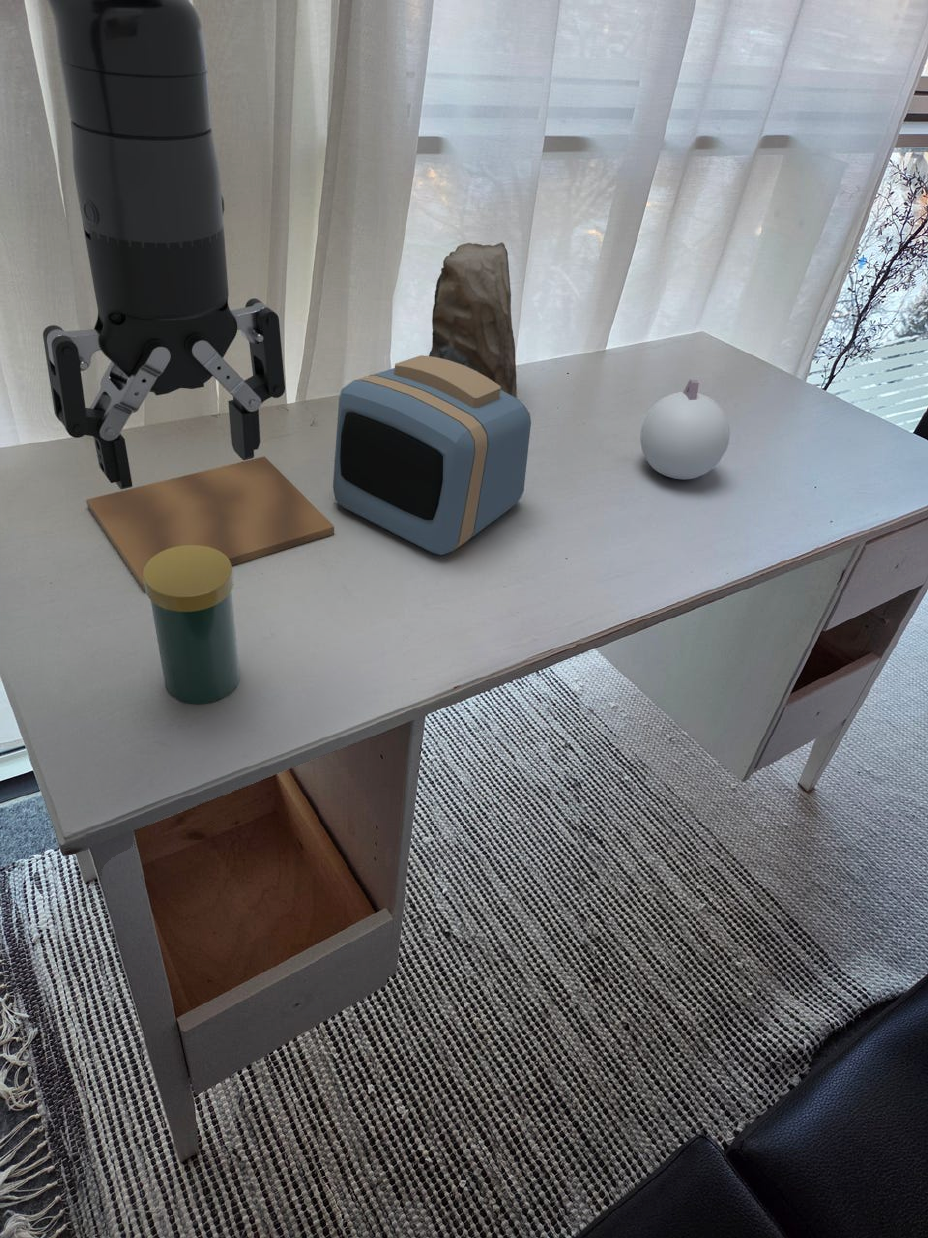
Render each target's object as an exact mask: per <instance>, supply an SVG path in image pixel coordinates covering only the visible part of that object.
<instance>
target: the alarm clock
mask: <svg viewBox="0 0 928 1238" xmlns="http://www.w3.org/2000/svg"><path fill="white" fill-rule="evenodd" d="M336 423H337V424H336V437H335V439H336V440H335V450H334V451H335V452H334V466H333V480H332V481H333V482H332V488H333V495H334V500H335V501H336V502H337V503H338V504H340V506H342V508H344V509H346V510H348V511H349V512H352V513H354V514H355V515H357V516H359V517H361V518H363V519H365V520H367V521H369V522H370V523H373V524H375V525H377V526H379V527H381V528H383V529H385V530H386V531H388V532H390V533H393V534H394V535H396V536H398V537H400V538H403V539H404V540H406V541H408V542H410V543H412V544H414V545H417V546H418V547H420V548H422V549H424V550H426V551H428V552H430V553H432V554H435V555H440V556H444V555H446V554H449V553H452V552H453V551H456V550H457V549H458V548H460V547H461V546H462V545H464V544H465V543H466V542H468V541H469V540H470V539H472V538H473V537H474V536H476V535H478V533H480V532H482V531H483V530H484V529H485V528H487V527H488V526H489V525H491V523H493V522H495V521H496V520H497V519H498V518H500V517H501V516H502V515H504V514H506V512H508V511H509V510H510V509H512V508H513V507H514V506H515V505H517V504H518V503H519V502H520V500H521V498H522V496H523V494H524V491H525V482H526V473H527V463H528V455H529V444H530V437H531V436H530V435H531V425H532V419H531V414H530V412H529V410H528V409H527V407H526V405H525V404H524V403H523V402H522V401H521V400H520V399H519V398H518V397H517V398H515V397H513V396H511V395H509V394H508V393H506V392H504V391H502V390H501V386H499V385H498V384H496V383H495V382H493V381H492V380H490V379H489V378H487V377H486V376H484V375H482V374H480V373H479V372H477V371H475V370H473V369H471V368H468V367H466V366H464V365H462V364H459V363H456V362H453V361H450V360H446V359H442V358H437V357H432V356H429V355H424V354H421V355H417V356H414V357H411V358H408V359H405V360H401V361H399V362H397V363H395V364H394V367H393V368H389V369H386V370H383V371H380V372H376V373H374V374H370V375H366V376H363V377H360V378H357V379H354V380H352V381H351V382H349V383H348V384H347V385H345V386H344V387H342V389H341V391H340V394H339V396H338V410H337V422H336Z"/></svg>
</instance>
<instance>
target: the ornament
mask: <svg viewBox="0 0 928 1238" xmlns="http://www.w3.org/2000/svg"><path fill="white" fill-rule="evenodd" d="M699 385H700V382H699V381H698V379H689V380H688V382H687V384H686V386H685V387H684V390H683V391H679V392H675V393H670V394H668V395H666V396H664V397H662V398H661V399H660V400H658V401H657V402H656V403H655V404H654V405H653V406H652V407H651V408H650V409H649V411H648V412H647V413H646V415H645V417H644V420H643V422H642V425H641V429H640V437H639V439H640V447H641V451H642V454H643V456H644V458H645V460H646V462H647V463H648V464H649V465H650V466H651V468H652V469H654V470H655V471H656V472H658V474H661V475H663V476H665V477H667V478H671V479H675V480H691V479H696V478H699V477H702V476H703V475H706V474H707V473H709V472H711V470H713V469H714V468H715V467H716V466H717V465H718V464H719V463H720V462H721V460H722V459H723V457H724V456H725V453H726V451H727V449H728V447H729V442H730V435H731V434H730V433H731V432H730V430H731V429H730V423H729V420H728V417H727V415H726V413H725V411H724V410H723V408H722V407H721V406H720V404H718V403H717V402H716V401H715V400H714V399H712V398H711V397H709V396H707V395H705V394H702V393H699V392H698V390H699Z"/></svg>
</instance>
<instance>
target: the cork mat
mask: <svg viewBox="0 0 928 1238" xmlns="http://www.w3.org/2000/svg"><path fill="white" fill-rule="evenodd" d="M85 502H86V507H87V508H88V511H90V513H91V515H92V516H93V518H94V519H95V520H96V523H98V525H99V526H100V528H101V530H102V531H103V532H104V534H105V536H106V537H107V538H108V539H109V541H110V543H111V544H112V546H113V548H114V549H115V550H116V551H117V553H118V555H119V556H120V557H121V559H122V561H123V562H124V563H125V564H126V567H127V568H128V569H129V571H130V572H131V574H132V575H133V577H134V578H135V579H136V581H137V582H138V584H139V586H140V587H141V589H142V590H143V592H144V593H146V590H145V585H144V579H143V570H144V567H145V565H146V564H147V562H148V561H149V560H150V559H151V558H152V557H153V556H155V555H156V554H158V553H160V552H162V551H164V550H167V549H170V548H173V547H177V546H184V545H200V546H206V547H210V548H214V549H216V550H218V551H220V552H222V553H223V554H224V555H226V556H227V557H228V559H229V560H230V562H231V564H232V567H233V566H235V565H239V564H242V563H245V562H249V561H252V560H255V559H258V558H261V557H265V556H269V555H272V554H275V553H279V552H281V551H284V550H287V549H291V548H294V547H298V546H301V545H304V544H307V543H311V542H314V541H317V540H321V539H323V538H326V537H330V536H333V535H335V526H334V525H333V524H332V523H331V522H330V521H329V520H328V519H327V518H326V516H324V515H323V513H321V512H320V511H319V510H318V508H316V506H315V505H314V504H313V503H311V501H309V499H307V497H306V496H305V495H304V494H303V493H302V492H301V491H300V490H298V489H297V487H296V486H294V484H293V483H291V482H290V480H289V479H288V478H287V477H286V476H285V475H284V474H283V473H281V471H280V470H279V469H278V468H277V467H276V466H275V465H274V464H273V463H272V462H271V461H270V460H269V459H268V458H267V457H266V456H261V457H256V458H252V459H248V460H242V461H240V462H236V463H232V464H228V465H227V464H226V465H223V466H219V467H215V468H211V469H207V470H203V471H198V472H194V473H190V474H186V475H182V476H178V477H174V478H170V479H166V480H162V481H157V482H154V483H149V484H145V485H141V486H137V487H131V488H127V489H123V490H121V491H116V492H113V493H108V494H104V495H100V496H96V497H95V496H94V497H91V498H88V499H87V498H86V499H85Z"/></svg>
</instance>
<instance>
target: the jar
mask: <svg viewBox="0 0 928 1238" xmlns="http://www.w3.org/2000/svg"><path fill="white" fill-rule="evenodd" d="M233 572H234V571H233V566H232V564H231V562H230V560H229V559H228V557H227V556H226V555H224V554H223V553H222V552H220V551H218V550H216V549H214V548H210V547H206V546H200V545H184V546H177V547H173V548H170V549H167V550H164V551H162V552H160V553H158V554H156V555H155V556H153V557H152V558H151V559H150V560H149V561H148V562H147V564H146V565H145V567H144V570H143V579H144V585H145V590H146V592H145V593H146V596H147V597H148V599H149V601H150V608H151V612H152V619H153V624H154V629H155V636H156V642H157V646H158V651H159V657H160V663H161V669H162V674H163V679H164V685H165V689H166V690H167V692H168V693H169V695H170V696H172V697H173V698H175V699H176V700H177V701H180V702H182V703H186V704H190V705H205V704H211V703H215V702H217V701H220V700H223V699H224V698H226V697H227V696H229V695H230V694H231V693H232V692H233V691H234V690H235V689H236V688H237V686H238V684H239V683H240V675H241V674H240V665H239V664H240V663H239V654H238V642H237V633H236V631H237V630H236V623H235V621H236V620H235V611H234V601H233V600H234V599H233V591H232V590H233V587H234V573H233Z"/></svg>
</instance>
